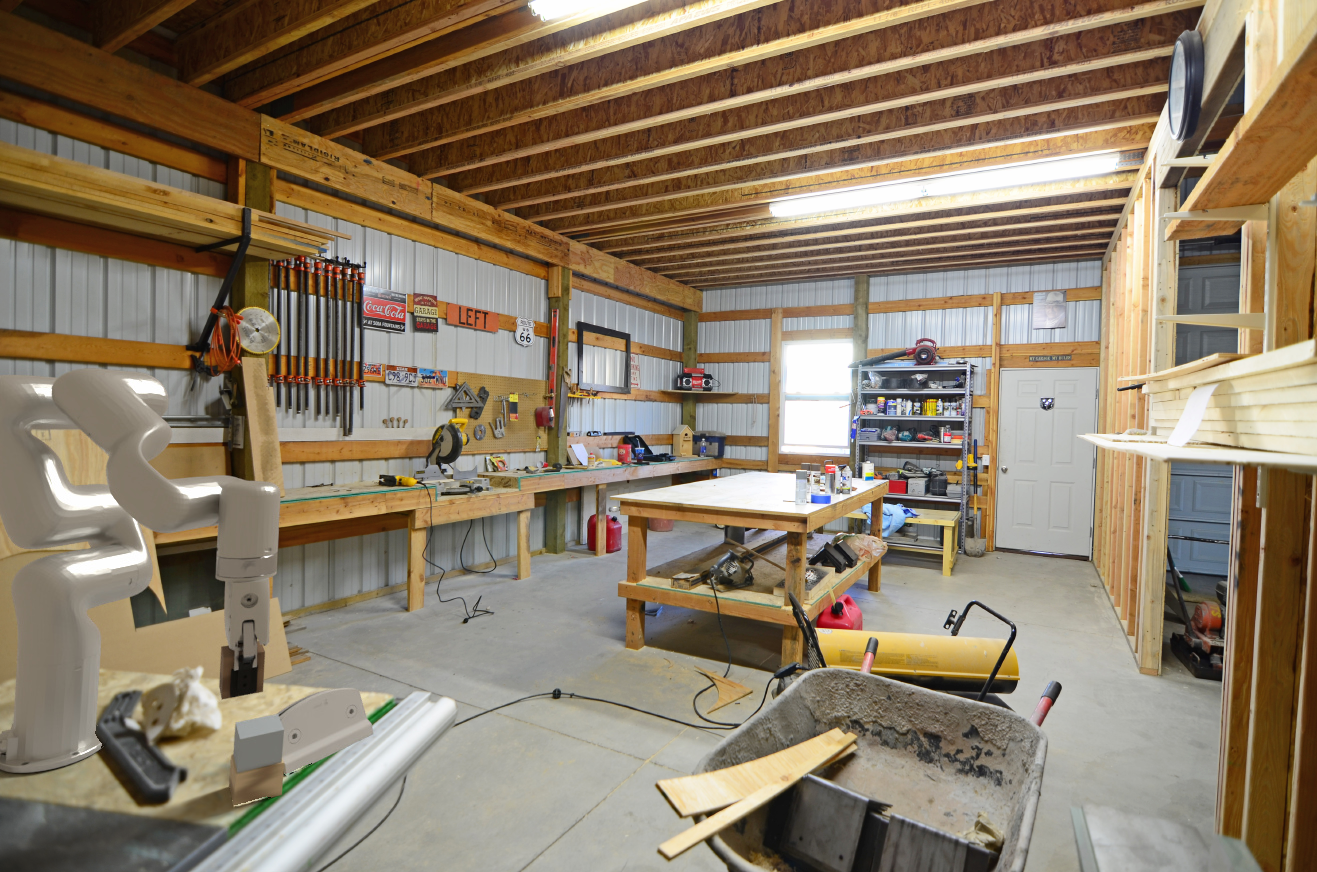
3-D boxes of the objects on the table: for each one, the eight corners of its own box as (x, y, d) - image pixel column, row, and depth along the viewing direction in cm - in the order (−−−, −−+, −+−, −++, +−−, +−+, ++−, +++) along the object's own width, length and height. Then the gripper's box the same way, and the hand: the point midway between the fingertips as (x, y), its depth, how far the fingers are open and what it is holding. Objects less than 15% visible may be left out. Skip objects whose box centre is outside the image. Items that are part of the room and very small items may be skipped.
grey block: (237, 773, 89) (239, 739, 89) (233, 754, 93) (235, 722, 93) (281, 762, 93) (284, 729, 93) (275, 745, 97) (277, 713, 97)
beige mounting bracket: (284, 777, 97) (275, 712, 98) (266, 777, 99) (257, 713, 100) (375, 732, 112) (366, 676, 113) (357, 733, 114) (349, 678, 115)
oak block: (233, 808, 89) (235, 774, 89) (228, 786, 94) (231, 754, 93) (281, 795, 93) (284, 762, 93) (275, 774, 97) (277, 743, 97)
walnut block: (221, 699, 88) (223, 657, 88) (219, 686, 92) (221, 646, 92) (263, 691, 91) (265, 651, 91) (258, 679, 95) (260, 640, 95)
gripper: (285, 576, 87) (279, 704, 88) (269, 551, 100) (263, 662, 101) (220, 582, 82) (213, 717, 83) (212, 555, 96) (206, 671, 96)
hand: (241, 685), depth 92 cm, fingers closed on walnut block, 5 cm apart
